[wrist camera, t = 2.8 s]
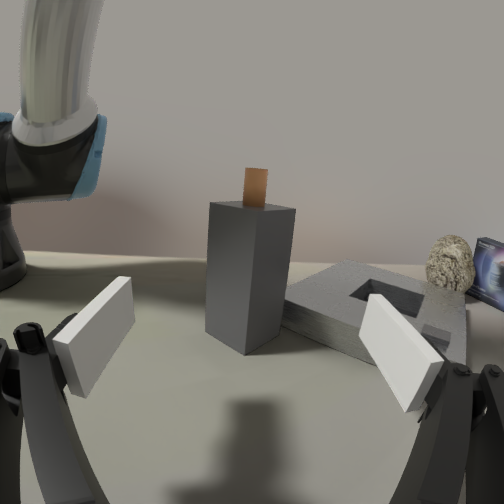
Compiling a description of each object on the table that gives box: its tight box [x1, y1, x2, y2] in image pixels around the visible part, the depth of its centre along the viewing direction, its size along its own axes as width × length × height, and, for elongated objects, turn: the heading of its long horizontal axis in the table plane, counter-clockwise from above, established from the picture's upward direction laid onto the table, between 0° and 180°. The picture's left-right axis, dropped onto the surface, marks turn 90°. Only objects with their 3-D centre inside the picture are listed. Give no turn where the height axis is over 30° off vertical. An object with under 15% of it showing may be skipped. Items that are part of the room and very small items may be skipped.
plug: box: [205, 168, 296, 356], centre depth 24 cm, size 5×5×15 cm
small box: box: [465, 237, 504, 312], centre depth 35 cm, size 11×6×10 cm, turn 24°
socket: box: [281, 259, 466, 366], centre depth 30 cm, size 20×20×4 cm
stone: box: [425, 235, 475, 294], centre depth 37 cm, size 6×10×10 cm, turn 4°
